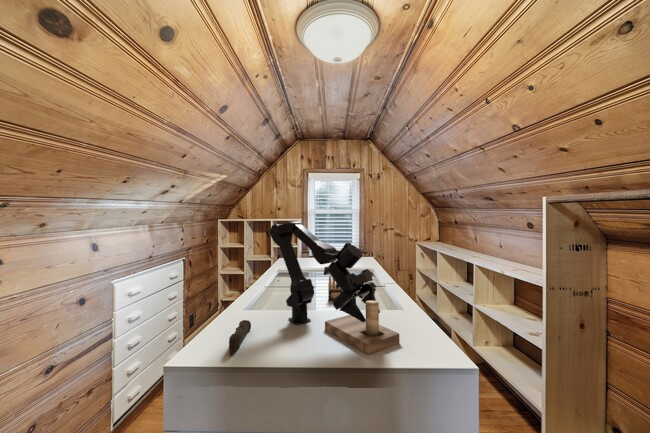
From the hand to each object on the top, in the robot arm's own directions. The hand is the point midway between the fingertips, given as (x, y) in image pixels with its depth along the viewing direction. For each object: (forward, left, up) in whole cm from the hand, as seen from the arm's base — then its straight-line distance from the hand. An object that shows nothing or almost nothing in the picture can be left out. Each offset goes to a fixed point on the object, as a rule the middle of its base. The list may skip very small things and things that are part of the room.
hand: (372, 317), depth 86 cm
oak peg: (0, 0, -8) cm, 8 cm away
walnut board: (-6, 0, -8) cm, 10 cm away
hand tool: (-24, -34, -8) cm, 42 cm away
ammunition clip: (-43, +19, -8) cm, 47 cm away
